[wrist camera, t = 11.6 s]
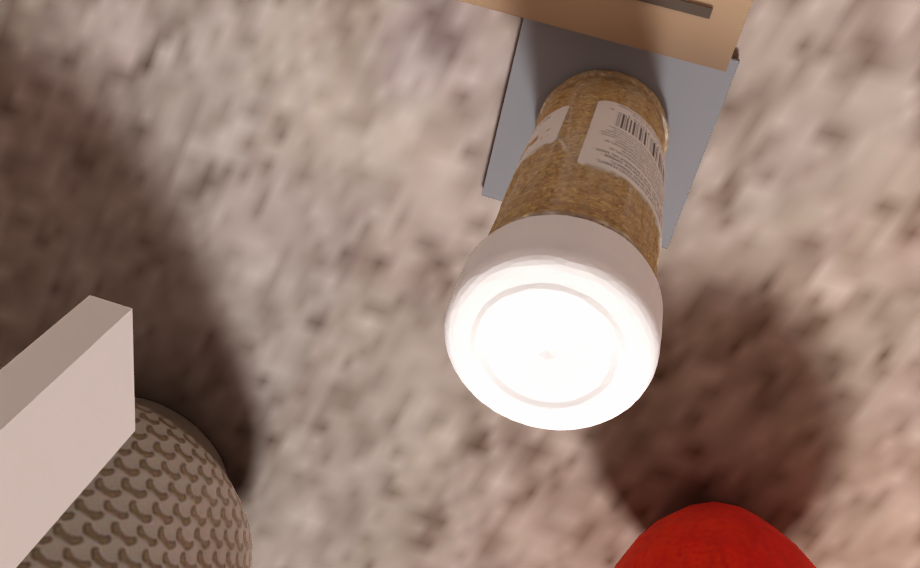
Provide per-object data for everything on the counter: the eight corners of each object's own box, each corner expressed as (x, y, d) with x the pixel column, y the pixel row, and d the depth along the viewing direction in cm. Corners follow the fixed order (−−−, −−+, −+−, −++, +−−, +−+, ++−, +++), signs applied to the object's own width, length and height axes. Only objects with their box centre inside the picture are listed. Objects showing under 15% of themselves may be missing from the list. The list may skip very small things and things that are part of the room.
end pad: (528, 3, 27) (526, 4, 27) (739, 58, 26) (739, 61, 26) (483, 191, 31) (481, 195, 30) (667, 245, 30) (666, 249, 30)
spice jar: (518, 91, 28) (405, 283, 17) (649, 47, 27) (621, 227, 15) (562, 209, 30) (485, 453, 19) (687, 174, 28) (687, 421, 17)
